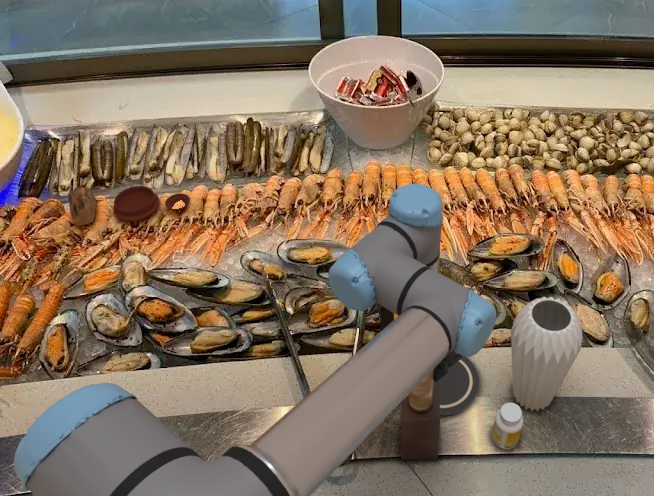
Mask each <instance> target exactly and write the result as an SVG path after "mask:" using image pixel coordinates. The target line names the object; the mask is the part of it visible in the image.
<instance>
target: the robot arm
mask: <svg viewBox="0 0 654 496" xmlns="http://www.w3.org/2000/svg"><path fill="white" fill-rule="evenodd" d="M387 210H388V214H387V215H386V216H385V217H384V218H383V219H381V221H379V222H378V223H377V224H376V226H375V227H374V228H373V229H372V230H371V231H369V232H368V233H367V234H366V235H364V236H363V238H361V239H360V240H359V241H357V242H356V243H355V244H354V245H352V246H351V247H350V248H348V249H346V250H344V252H343V254H341V256H340V257H339V258H337V260H336V261H335V262H334V263H333V264H332V266H331V267H330V268H329V270H328V277H327V278H328V284H329V286H330V288H331V291H332V293H333V294H334V296H335V297H336V298H337V299H338V301H340V302H341V303H342V304H343V305H344V306H345V307H346V308H348V309H351V310H352V311H357V312H365V311H367V310H368V309H369V308H371V307H374V306H375V305H376V306H377V313H378V316H379V332H378V333H377V334H376V335H375V336H374V337H373V338H372V339H370V340H369V341H368V342H367V343H366V344H365V345H363V346H362V347H361V348H360V349H359V350H357V351H356V352H355V353H354V354H353V355H351V356H350V358H348V359H347V360H346V361H345V362H344V363H343V364H342V365H340V366H339V367H338V368H337V369H336V370H335V371H333V372H332V373H331V374H330V375H329V376H327V377H326V379H324V380H323V381H322V382H321V383H320V384H318V385H317V386H316V387H315V388H314V389H312V391H310V392H309V393H308V394H307V395H306V396H305V397H303V399H301V400H300V401H298V403H297V404H296V405H294V406H293V407H292V408H291V409H290V410H289V411H287V412H286V413H285V414H284V415H283V416H282V417H280V418H279V419H278V420H277V421H276V422H275V423H273V424H272V425H271V426H270V427H268V429H266V431H264V432H263V433H262V434H261V435H260V436H259V437H257V438H256V439H255V440H254V441H253V442H252V443H250V444H242V443H241V444H237V443H236V444H233V445H232V446H231V447H230V448H228V449H227V450H226V451H225V452H224V453H223V454H221V455H220V456H219V457H217V458H216V459H213V460H205V459H204V458H203V457H202V456H201V455H200V454H198V453H197V452H196V451H195V450H194V449H193V448H192V447H190V446H189V445H188V444H187V443H186V442H185V441H184V440H183V439H182V438H180V437H179V436H178V435H177V434H176V433H175V432H174V431H173V430H171V429H170V428H169V427H168V425H166V424H165V423H164V422H163V421H162V420H160V419H159V418H158V417H157V416H156V415H155V414H154V413H152V412H151V410H149V409H148V408H147V407H146V406H145V405H144V404H143V403H142V402H140V401H139V400H138V397H137V396H136V395H134V394H133V393H130V392H129V391H128V390H126V389H124V388H123V387H122V386H120V385H119V384H115V383H112V382H98V383H97V384H94V383H93V384H88V385H85V386H82V387H80V388H78V389H75V390H74V391H72V392H70V393H68V394H66V395H65V396H62V397H61V398H60V399H58V400H57V401H55V402H54V403H53V404H52V405H50V406H49V407H48V408H47V409H46V410H44V411H43V412H42V413H41V414H40V415H39V416H38V417H37V418H36V419H35V420H34V422H33V423H32V424H30V426H29V427H28V428H27V432H26V433H25V435H24V436H23V437H22V438H21V440H20V441H19V443H18V446H17V448H16V449H15V453H14V457H13V469H14V472H15V474H16V476H17V477H18V479H19V480H20V481H21V486H22V488H23V489H24V490H25V491H27V492H28V491H29V492H30V493H31V494H32V495H33V496H312V495H313V493H315V491H316V490H318V489H319V487H321V485H323V484H324V483H325V481H326V480H328V478H329V477H330V476H331V475H332V474H333V473H334V472H335V471H336V470H337V469H338V468H339V467H340V466H341V465H342V464H343V463H344V462H345V461H346V460H347V459H348V458H349V457H350V456H351V454H353V452H355V451H356V450H357V449H358V447H359V446H360V445H361V444H362V443H363V442H364V441H365V440H366V439H367V438H368V437H369V436H370V435H371V434H372V433H373V432H374V431H375V430H376V429H377V428H378V426H380V424H381V423H383V421H384V420H385V419H386V418H387V417H388V416H389V415H390V414H391V413H392V412H393V411H394V410H395V409H396V408H397V407H398V406H399V405H401V402H402V401H403V400H404V399H405V398H406V397H407V396H408V394H409V393H410V392H411V391H412V390H413V389H414V388H415V387H416V386H417V385H418V384H419V383H420V382H421V381H422V380H423V379H424V378H425V377H426V376H427V375H428V374H429V373H430V372H431V371H432V370H433V369H434V373H433V380H434V381H435V382H437V381H439V380H440V379H441V378H442V377H443V376H445V375H446V374H447V372H448V369H449V368H450V367H452V366H453V365H454V364H456V363H457V362H458V361H459V360H460V359H462V356H464V357H467V358H471V357H473V356H475V355H477V354H478V353H479V352H480V351H481V350H482V349H483V348H484V346H485V345H486V343H487V342H488V340H489V339H490V337H491V334H492V333H493V331H494V327H495V325H496V321H497V309H496V308H495V306H494V304H493V303H492V302H490V301H488V300H487V299H485V298H484V297H483V296H481V295H479V294H478V293H476V292H475V291H474V290H473V289H470V288H467V287H466V286H464V285H462V284H460V283H458V282H456V281H455V280H453V279H451V278H449V277H448V276H445V275H444V274H442V273H440V259H441V258H440V257H441V256H440V255H441V239H442V228H443V222H444V215H443V199H442V198H441V196H440V194H439V193H438V192H437V191H436V190H435V189H434V188H432V187H430V186H428V185H426V184H423V183H408V184H404V185H402V186H401V185H400V187H398V188H396V189H395V190H394V191H393V192H392V194H391V196H390V198H389V204H388V208H387ZM395 316H397V317H396V318H395Z"/></svg>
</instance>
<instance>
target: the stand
mask: <svg viewBox="0 0 654 496" xmlns="http://www.w3.org/2000/svg"><path fill="white" fill-rule="evenodd" d="M408 395H409V394H408ZM407 397H408V396H407ZM407 397H406V398H405V399H404V400H403V401H402V402H401V403H400V460H401V461H433V460H434V461H437V460H438V459H439V448H440V433H441V421H442V420H441V417H442V416H440V395H439V385H433V398H434V404H433V407H432V409H431V410H430V411H428V412H426V413H423V414H418V413H415V412H413V411H411V410H410V408H409V407H408V404H407Z"/></svg>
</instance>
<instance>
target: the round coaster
mask: <svg viewBox="0 0 654 496" xmlns="http://www.w3.org/2000/svg"><path fill="white" fill-rule="evenodd" d="M433 385H439V395H440V417H449V416H454V415H456V414H457V415H458V414H459V413H462V412H464V411H465V410H466V409H468V408H469V407H470V406H472V404H473V403H474V401H475V400H476V398H477V395H478V394H479V393H478V392H479V389H480V377H479V373H478V370H477V368H476V367H475V365H474V363H473V362H472V361H471V360H470V358H469V357H464V356H462V359H460V360H459V361H458V362H457V363H456V364H454V365H453V366H452V367H450V368H449V369H448V372H447V374H446V375H445V376H443V377H442V378H441V379H440V380H439V381H437V382H435V381H434V380H433Z"/></svg>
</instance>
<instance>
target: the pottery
mask: <svg viewBox="0 0 654 496" xmlns="http://www.w3.org/2000/svg"><path fill="white" fill-rule="evenodd" d="M180 200H182V201H183V202H184V203H185V206H184V207H182V208H179V209H172V207H173V206H174V204H175V203H176V202H178V201H180ZM190 202H191V198H190V196H189V195H187V194H185V193H175V194H172V195H170V196H168V198H166V199H165V202H164V205H165V207H166V208H167V209H168V210H169V211H172V212H174V213H175V214H176V215H177V214H178V215H181V214H183V213H185V212H186V210H187V208H188V206H189V205H190ZM160 203H161V200H160V197H159V195H158V194H157V193H155V192H154V191H153V189H152V188H150V187H148V186H144V185H134V186H131V187H127V188H125V189H122V190H121V191H119V192H118V194H116V196H115V198H114V200H113V208H112V209H113V211H112V212H113V214H114V216H115V217H116V218H118V219H120V220H122V221H128V222H129V221H138V220H141V219H145V218H147V217H149V216H150V215H152V214H153V213H155V212H156V211H157V209H158V208H159V206H160ZM175 211H176V212H175ZM179 211H180V212H179Z"/></svg>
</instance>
